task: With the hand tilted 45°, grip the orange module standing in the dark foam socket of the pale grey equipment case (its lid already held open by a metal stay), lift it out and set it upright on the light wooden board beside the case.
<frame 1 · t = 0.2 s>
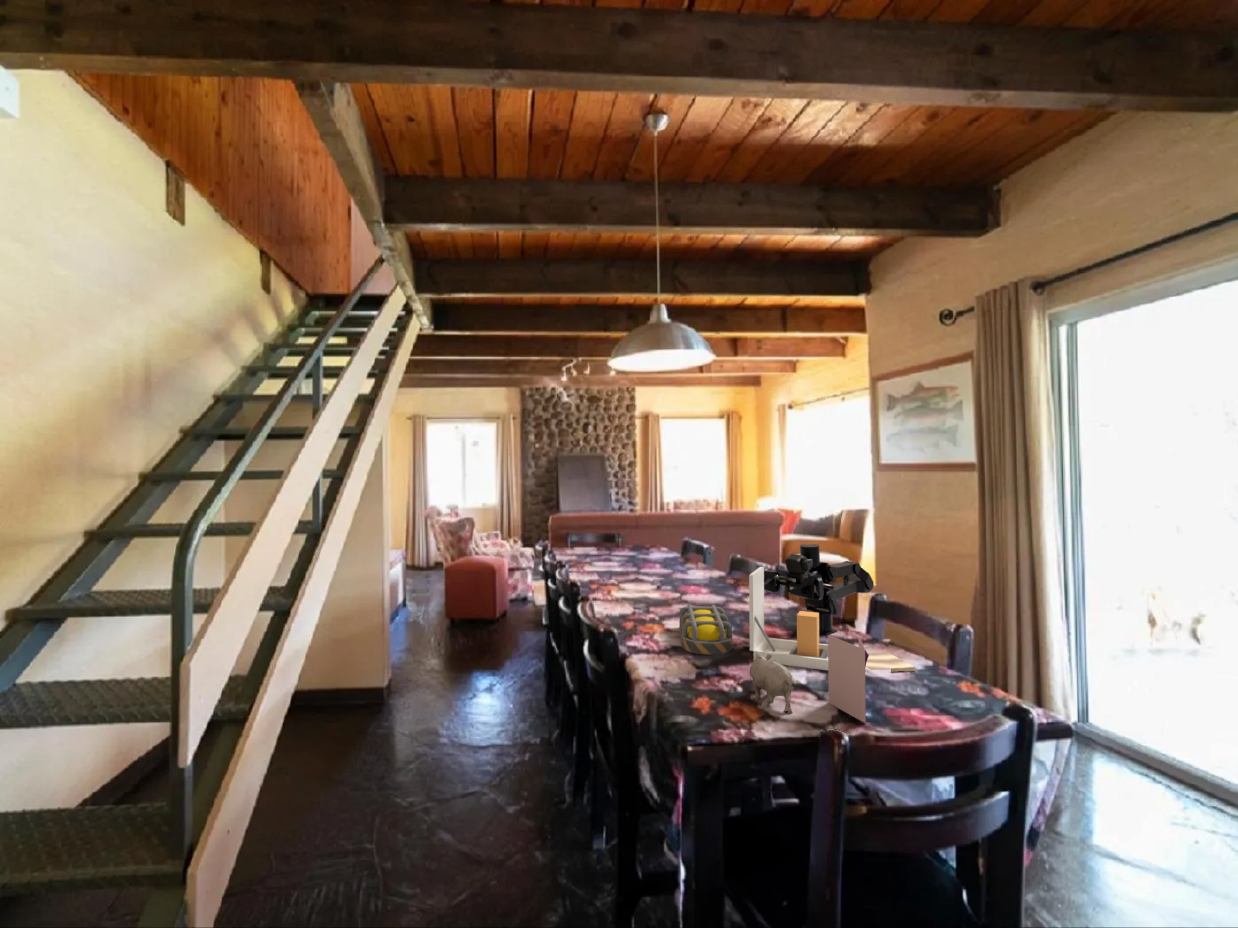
hand: (776, 589, 173), 17 cm above the table, tool horizontal, fingers open, 9 cm apart
cage light: (704, 640, 183), on the table
equipment case: (808, 662, 160), on the table
greeting card: (848, 711, 129), on the table
rhinoceros figurine: (770, 699, 136), on the table
wooden board: (879, 664, 159), on the table
orange module: (808, 659, 160), point 1 cm above the table, touching equipment case
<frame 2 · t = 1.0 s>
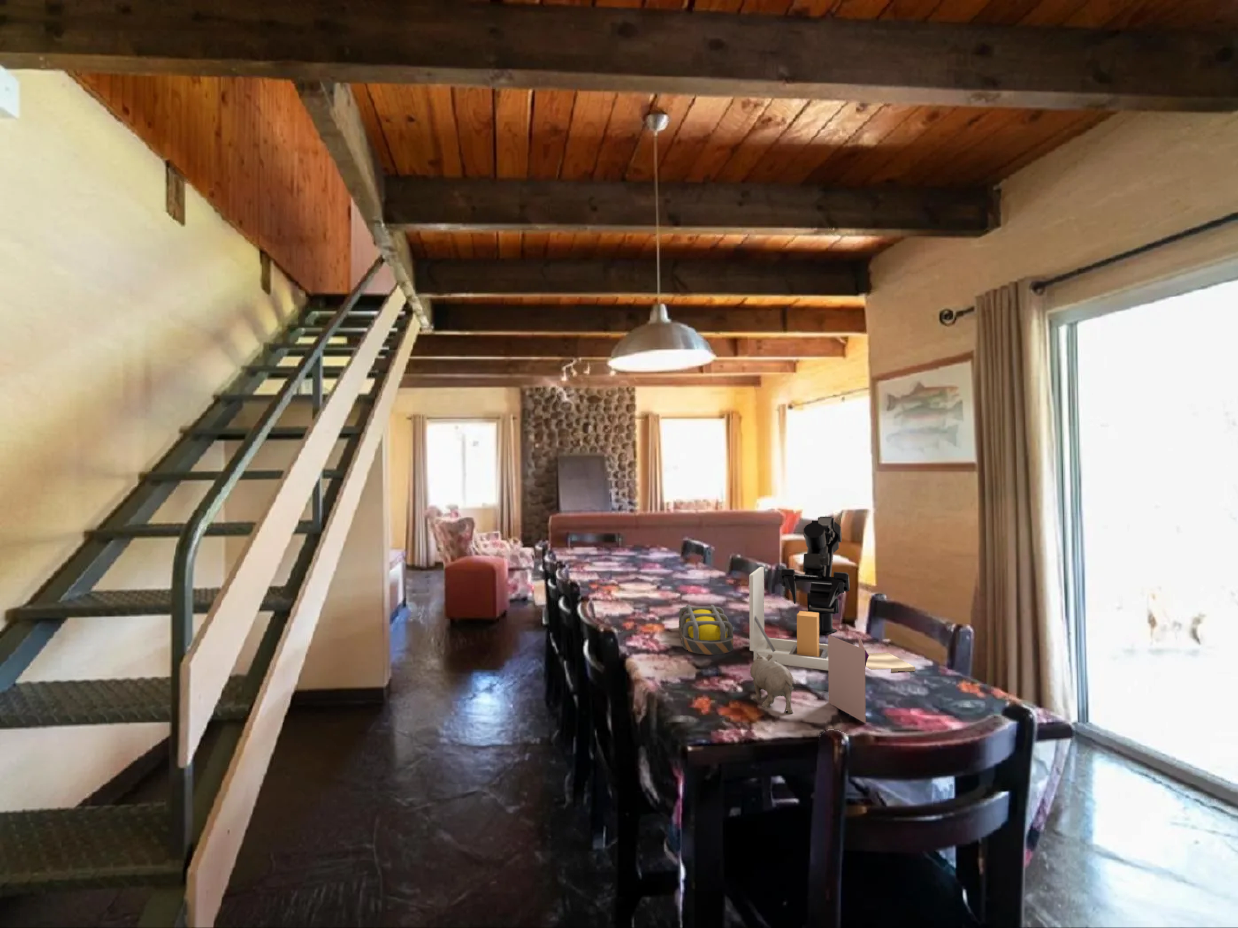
hand: (811, 604, 167), 14 cm above the table, tool tilted 45°, fingers open, 9 cm apart
nothing on the table moved.
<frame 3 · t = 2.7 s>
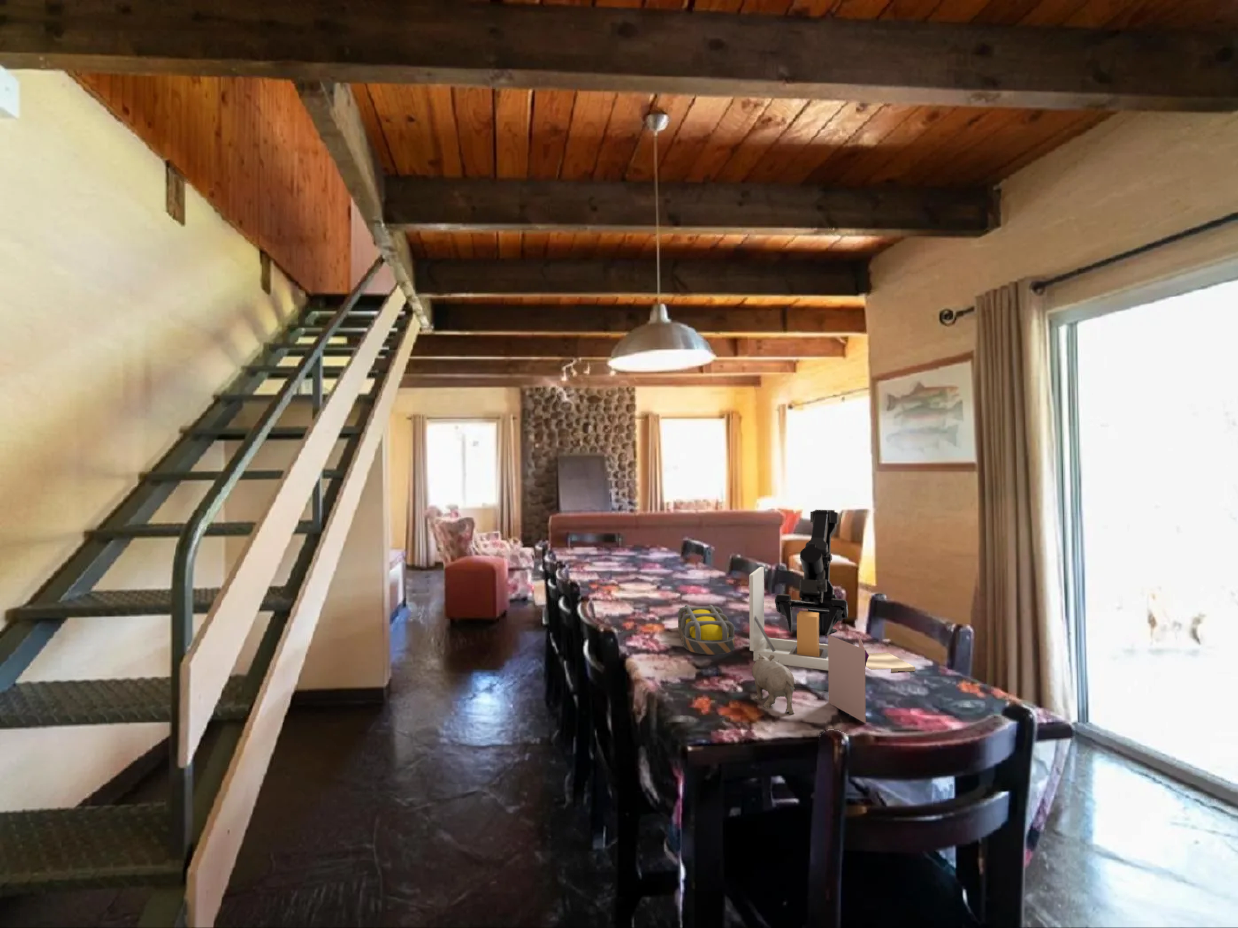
hand: (808, 633, 160), 8 cm above the table, tool tilted 45°, fingers open, 9 cm apart
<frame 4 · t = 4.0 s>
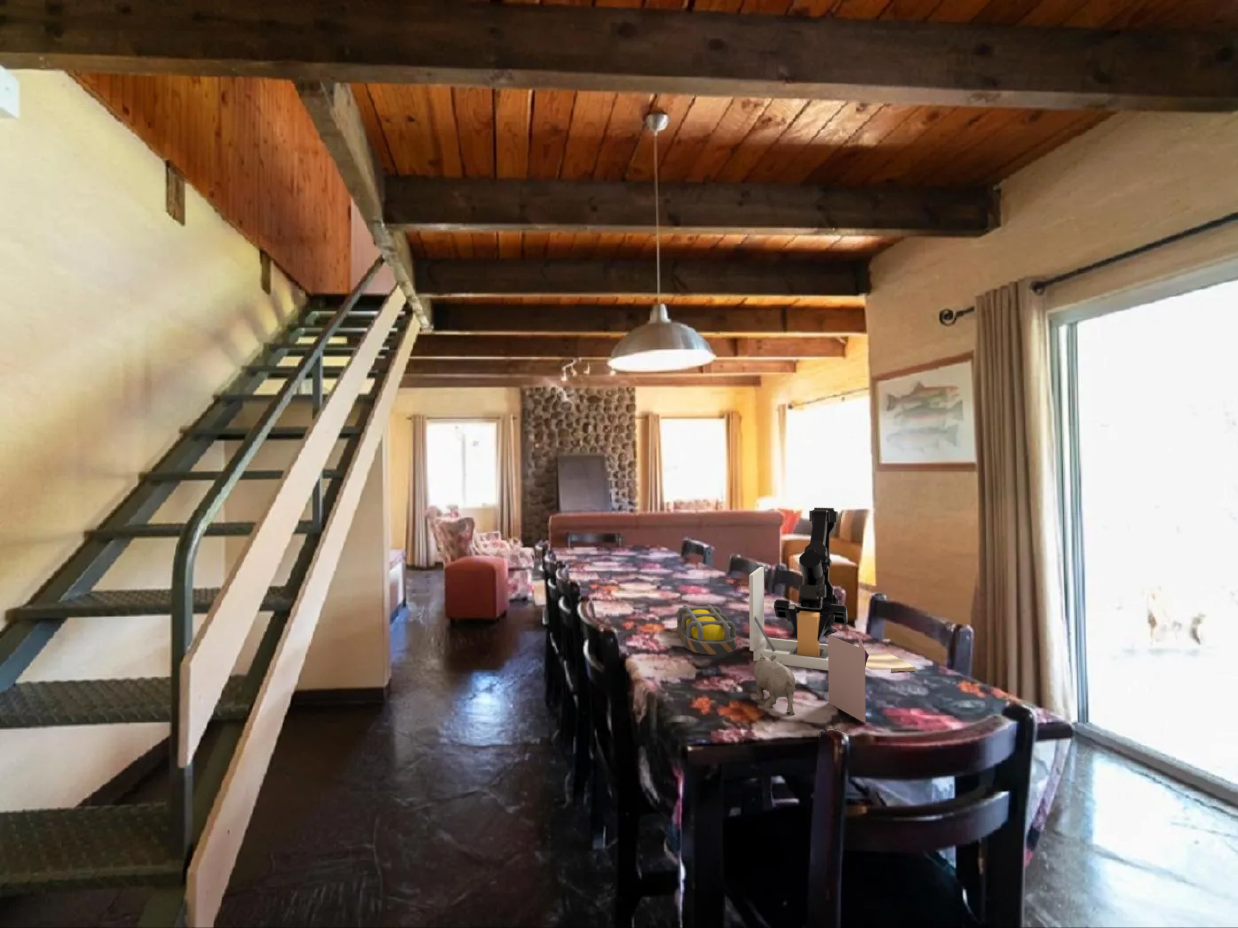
hand: (807, 639, 159), 7 cm above the table, tool tilted 45°, fingers closed on orange module, 5 cm apart
orange module: (808, 658, 160), point 1 cm above the table, touching equipment case, gripper
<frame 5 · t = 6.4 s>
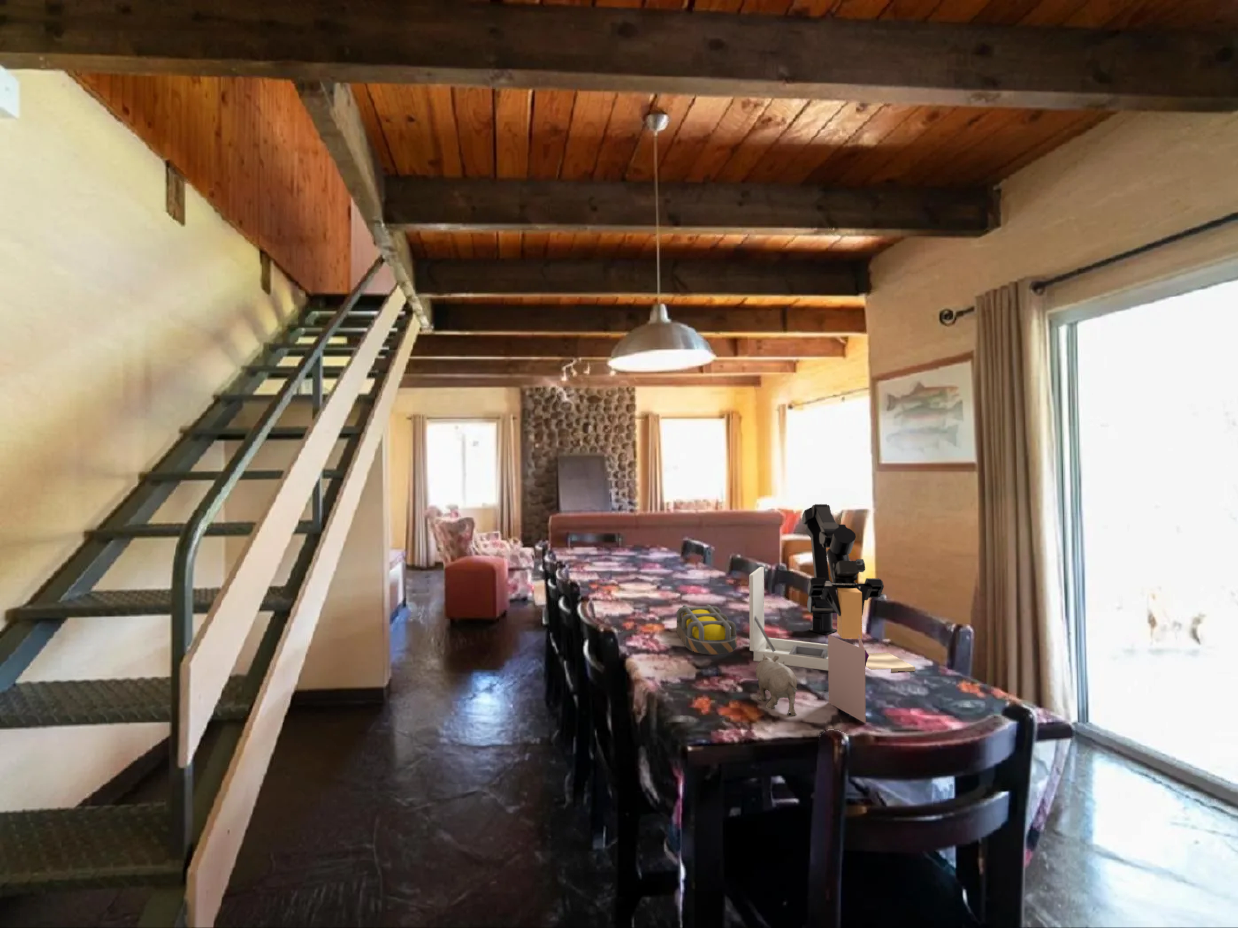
hand: (850, 615, 157), 13 cm above the table, tool tilted 45°, fingers closed on orange module, 5 cm apart
orange module: (849, 635, 158), point 8 cm above the table, touching gripper
when the fingers open (8 cm above the table, at t = 8.9 s): orange module drops 1 cm, resting on wooden board.
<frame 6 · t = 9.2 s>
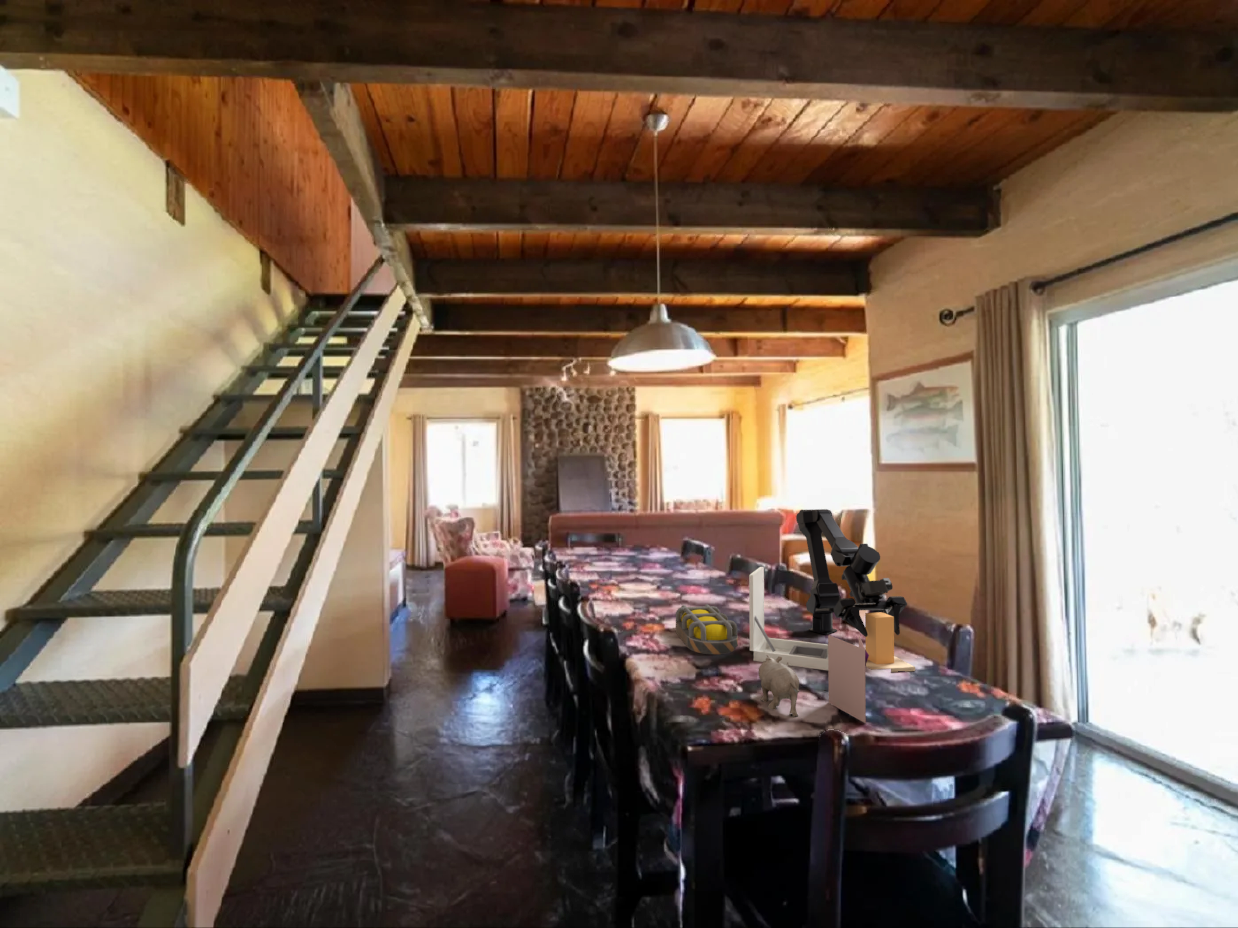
hand: (882, 635, 157), 8 cm above the table, tool tilted 45°, fingers open, 9 cm apart
orange module: (879, 660, 159), point 1 cm above the table, touching wooden board
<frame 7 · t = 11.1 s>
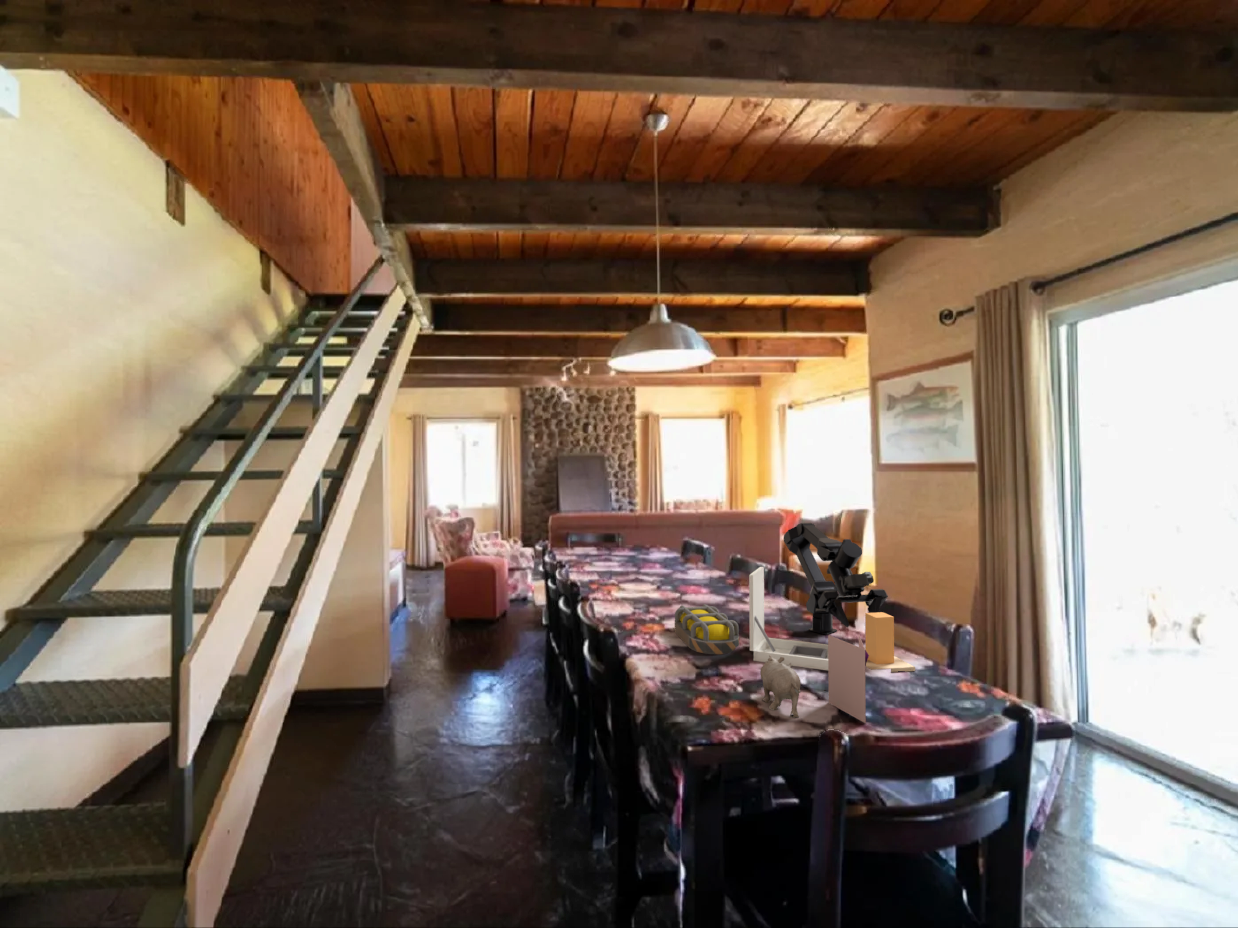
hand: (863, 625, 166), 8 cm above the table, tool tilted 45°, fingers open, 9 cm apart
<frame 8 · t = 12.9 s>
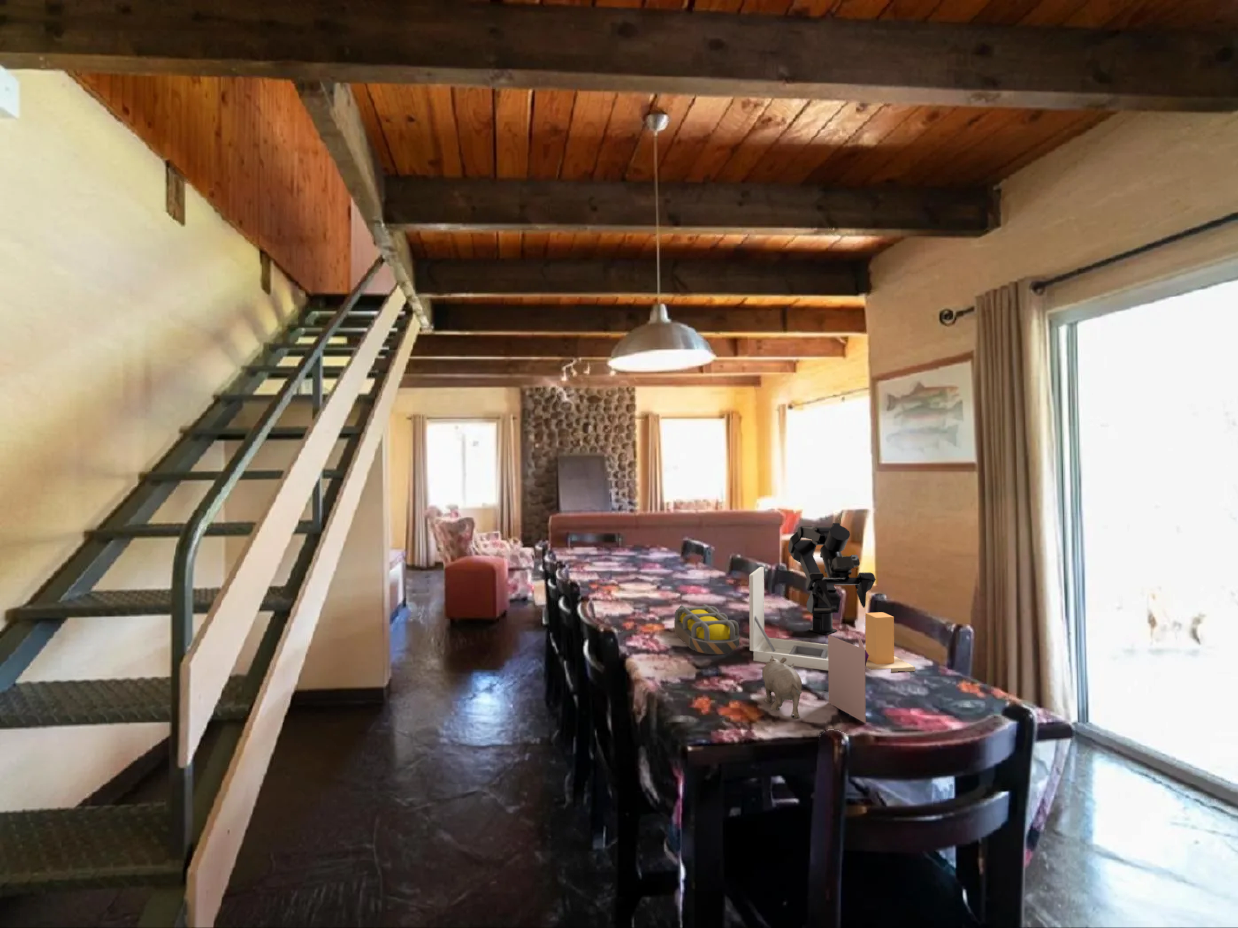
hand: (847, 606, 169), 13 cm above the table, tool tilted 45°, fingers open, 9 cm apart
at the end: orange module inside the target area on the wooden board (0.0 cm from its centre), point 1.0 cm above the wooden board's base; orange module tilted 0°; the gripper is holding nothing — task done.
